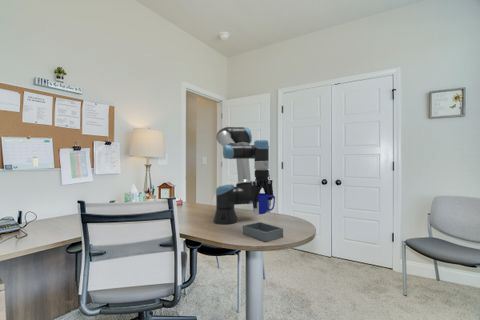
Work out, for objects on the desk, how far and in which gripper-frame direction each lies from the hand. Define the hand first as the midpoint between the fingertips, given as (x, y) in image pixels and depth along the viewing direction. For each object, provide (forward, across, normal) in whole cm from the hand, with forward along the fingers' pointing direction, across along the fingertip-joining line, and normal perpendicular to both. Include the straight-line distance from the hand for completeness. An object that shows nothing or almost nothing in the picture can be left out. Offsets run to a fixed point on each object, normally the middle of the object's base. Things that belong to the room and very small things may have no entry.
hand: (262, 213), depth 128 cm
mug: (0, +1, 0) cm, 1 cm away
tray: (+12, 0, 0) cm, 12 cm away
